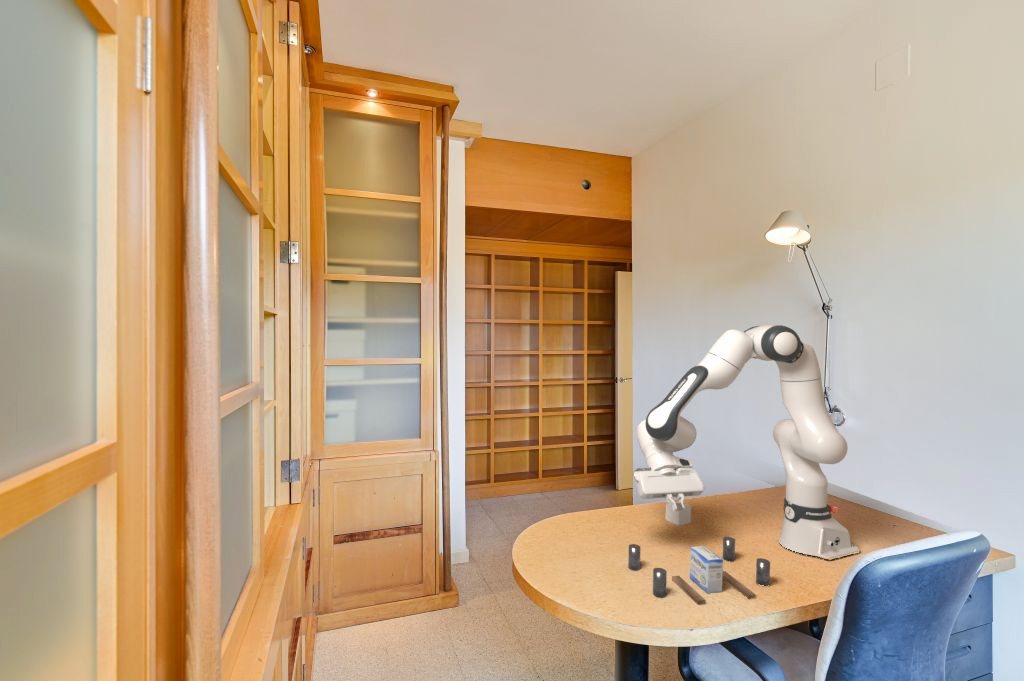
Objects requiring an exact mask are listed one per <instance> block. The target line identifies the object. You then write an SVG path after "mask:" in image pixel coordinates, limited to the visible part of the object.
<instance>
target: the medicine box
mask: <svg viewBox="0 0 1024 681" xmlns="http://www.w3.org/2000/svg"><path fill="white" fill-rule="evenodd" d="M689 559H690V560H689V561H690V562H689V579H690V580H691V582H693V583H694V584H696V586H698V587H699V588H700V589H701V590H703V591H704V592H705V593H706V594H715V593H716V594H717V593H722V591H723V579H722V574H723V571H724V570H723V568H724V559H723V558H722V557H720V556H718V555H717V554H716V553H715V552H713V551H711V550H710V549H709V548H707V547H705V545H703V546H701V545H700V546H691V547H690V557H689Z"/></svg>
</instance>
